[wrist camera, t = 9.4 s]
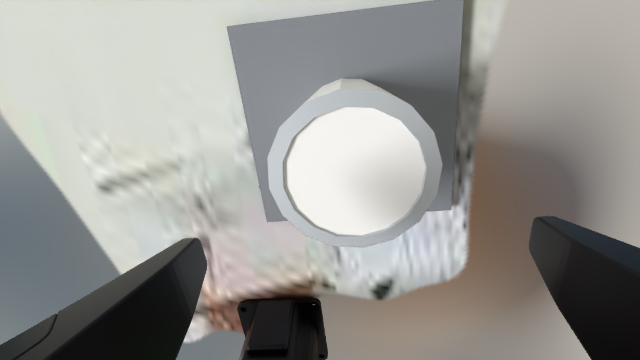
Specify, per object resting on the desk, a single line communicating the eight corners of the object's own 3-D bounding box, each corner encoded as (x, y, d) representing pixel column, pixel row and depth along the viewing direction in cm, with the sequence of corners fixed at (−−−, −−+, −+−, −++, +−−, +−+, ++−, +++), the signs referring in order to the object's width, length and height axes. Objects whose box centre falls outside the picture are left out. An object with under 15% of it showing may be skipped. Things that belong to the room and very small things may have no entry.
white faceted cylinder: (335, 38, 17) (332, 46, 11) (434, 114, 19) (482, 159, 12) (268, 140, 20) (234, 194, 14) (359, 200, 21) (367, 275, 15)
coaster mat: (448, 205, 22) (451, 209, 21) (268, 217, 23) (267, 221, 22) (460, -3, 17) (464, -4, 16) (230, 26, 18) (226, 26, 17)
